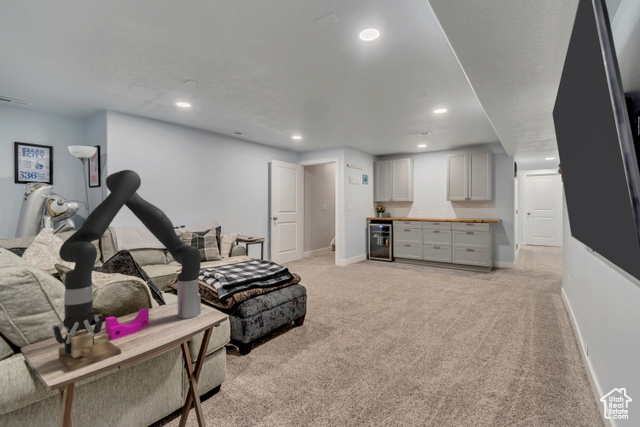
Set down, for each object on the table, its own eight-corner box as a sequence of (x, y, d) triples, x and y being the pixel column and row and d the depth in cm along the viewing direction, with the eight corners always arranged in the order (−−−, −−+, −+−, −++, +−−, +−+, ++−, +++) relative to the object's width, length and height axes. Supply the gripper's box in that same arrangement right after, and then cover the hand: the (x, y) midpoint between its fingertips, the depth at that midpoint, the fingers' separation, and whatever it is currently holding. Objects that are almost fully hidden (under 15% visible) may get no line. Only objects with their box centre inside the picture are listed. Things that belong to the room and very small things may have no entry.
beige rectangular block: (84, 345, 105) (84, 328, 105) (96, 354, 99) (95, 336, 98) (66, 351, 101) (66, 333, 101) (77, 360, 94) (77, 341, 94)
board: (106, 343, 112) (106, 333, 112) (121, 353, 105) (120, 342, 104) (58, 359, 101) (58, 347, 101) (70, 371, 93) (70, 358, 93)
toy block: (112, 340, 116) (111, 321, 116) (105, 336, 119) (105, 318, 119) (151, 327, 128) (151, 310, 128) (144, 324, 132) (144, 307, 131)
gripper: (99, 293, 108) (100, 339, 109) (47, 303, 97) (48, 355, 97) (107, 297, 104) (108, 345, 104) (54, 308, 92) (55, 362, 93)
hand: (79, 349), depth 101 cm, fingers closed on beige rectangular block, 5 cm apart
